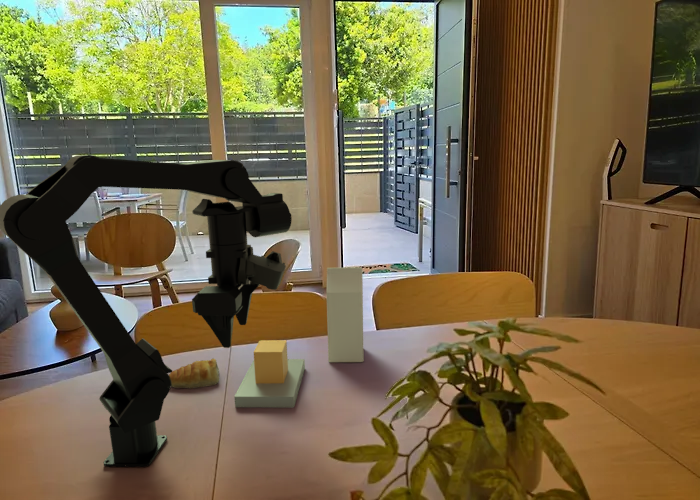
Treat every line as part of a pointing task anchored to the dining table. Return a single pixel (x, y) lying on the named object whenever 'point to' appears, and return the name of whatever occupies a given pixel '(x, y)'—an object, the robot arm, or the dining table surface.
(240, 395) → the pale green flat slab
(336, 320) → the milk carton
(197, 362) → the pastry
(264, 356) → the small yellow upright block
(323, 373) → the dining table surface
